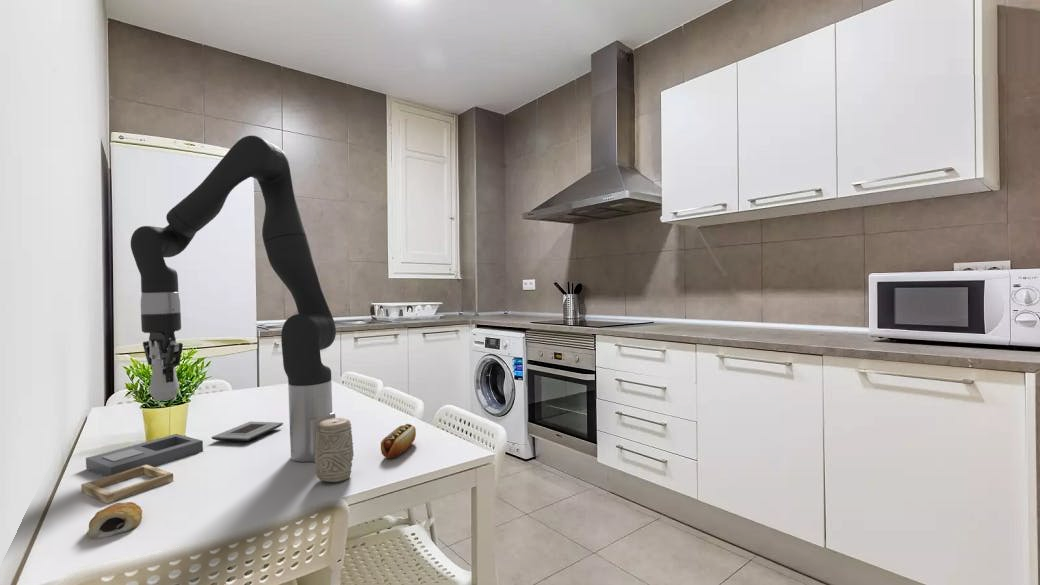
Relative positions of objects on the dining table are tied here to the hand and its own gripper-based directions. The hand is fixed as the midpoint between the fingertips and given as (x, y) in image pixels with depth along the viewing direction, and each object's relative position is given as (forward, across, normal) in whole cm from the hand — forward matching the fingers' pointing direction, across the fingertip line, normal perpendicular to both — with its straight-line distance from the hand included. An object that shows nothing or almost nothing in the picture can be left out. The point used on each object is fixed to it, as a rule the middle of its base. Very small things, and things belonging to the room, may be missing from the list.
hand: (164, 383), depth 113 cm
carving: (+17, -49, -8) cm, 52 cm away
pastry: (+17, -31, +22) cm, 41 cm away
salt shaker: (+4, 0, 0) cm, 4 cm away
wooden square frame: (+17, -14, +13) cm, 25 cm away
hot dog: (+17, -50, -26) cm, 59 cm away
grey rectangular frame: (+17, 0, +4) cm, 17 cm away
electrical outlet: (+18, -5, -17) cm, 25 cm away
